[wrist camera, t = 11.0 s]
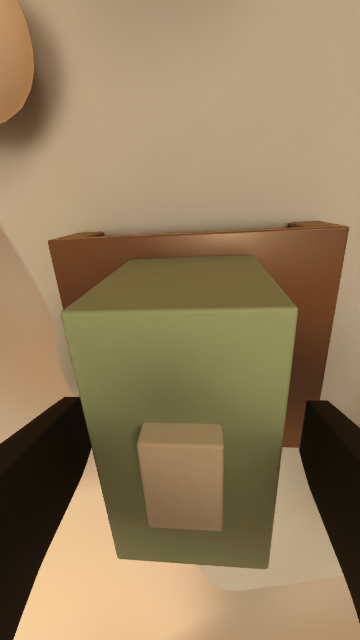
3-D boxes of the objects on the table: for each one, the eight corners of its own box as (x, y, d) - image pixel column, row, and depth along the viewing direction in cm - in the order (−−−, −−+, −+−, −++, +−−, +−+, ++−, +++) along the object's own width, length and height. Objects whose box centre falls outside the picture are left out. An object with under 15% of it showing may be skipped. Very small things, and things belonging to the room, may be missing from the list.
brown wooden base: (295, 409, 17) (312, 448, 15) (109, 406, 19) (93, 442, 16) (320, 221, 13) (350, 226, 10) (77, 232, 14) (46, 240, 12)
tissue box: (245, 430, 14) (273, 599, 8) (149, 428, 15) (110, 586, 9) (253, 254, 11) (312, 321, 5) (128, 259, 12) (40, 325, 5)
